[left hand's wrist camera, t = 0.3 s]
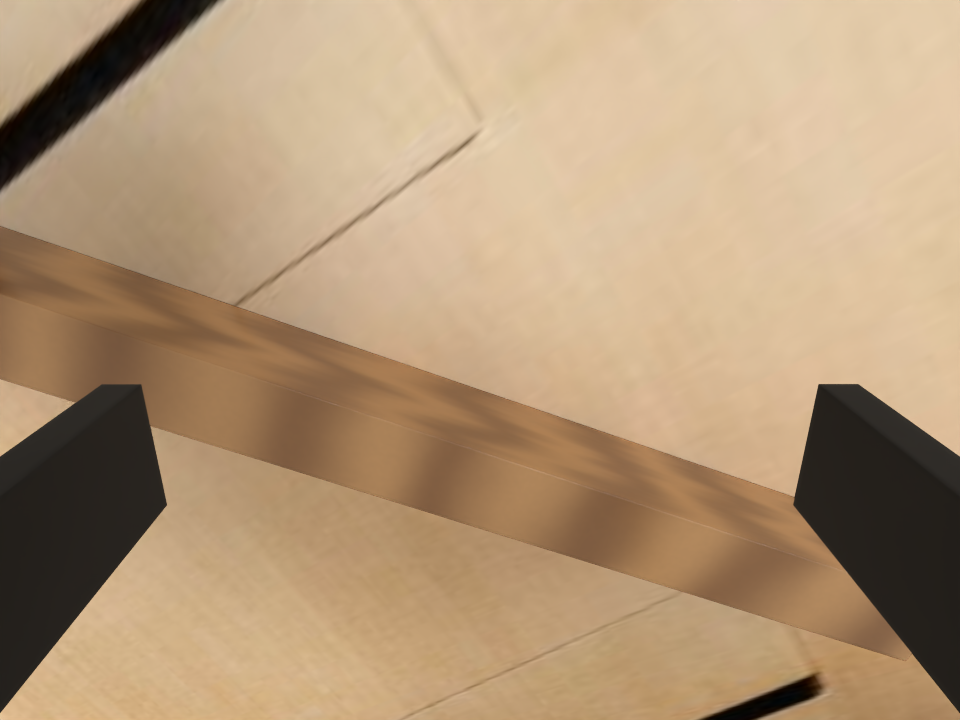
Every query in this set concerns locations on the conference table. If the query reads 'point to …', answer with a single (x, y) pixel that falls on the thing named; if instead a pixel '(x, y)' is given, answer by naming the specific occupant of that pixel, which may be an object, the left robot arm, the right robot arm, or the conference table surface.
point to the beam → (419, 440)
